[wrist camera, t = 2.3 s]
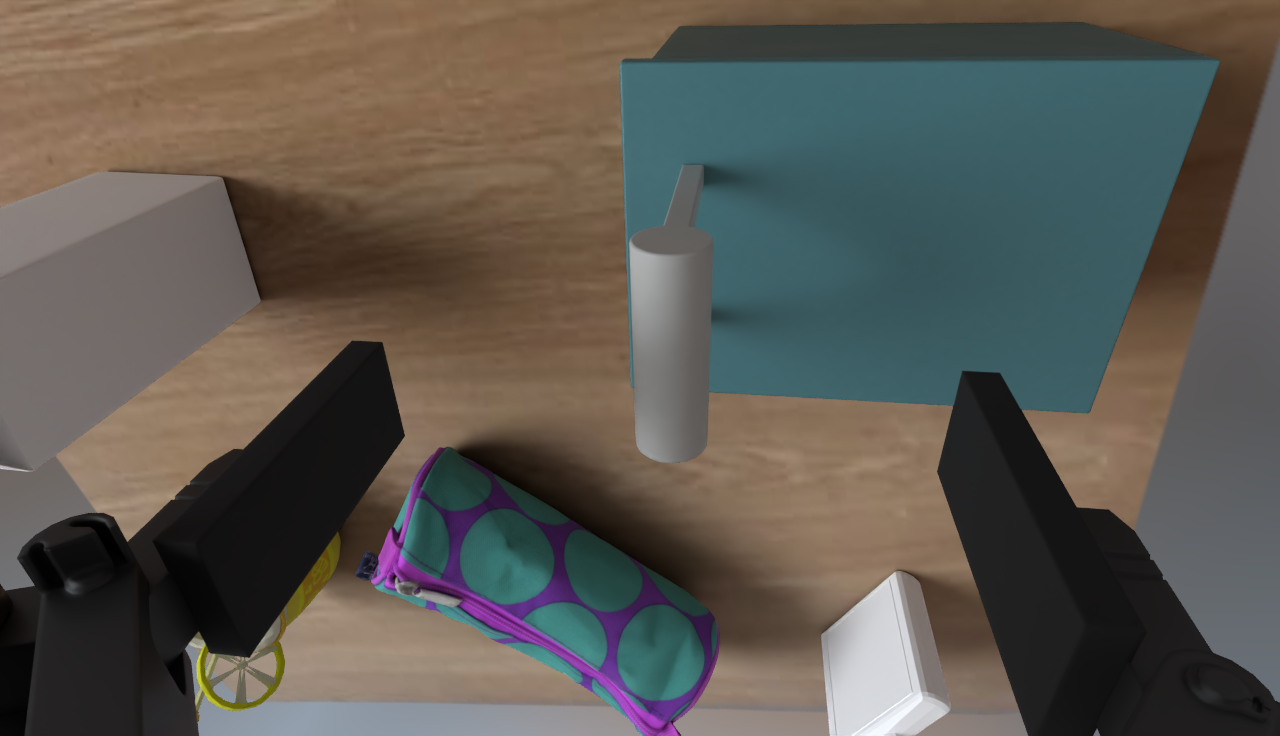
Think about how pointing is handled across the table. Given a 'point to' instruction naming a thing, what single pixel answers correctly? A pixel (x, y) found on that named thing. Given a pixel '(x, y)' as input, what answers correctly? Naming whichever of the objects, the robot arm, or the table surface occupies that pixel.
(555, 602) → the pencil case
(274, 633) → the yellow pot
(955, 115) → the lid
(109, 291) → the milk carton
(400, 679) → the table surface
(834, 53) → the chest
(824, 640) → the perfume bottle
